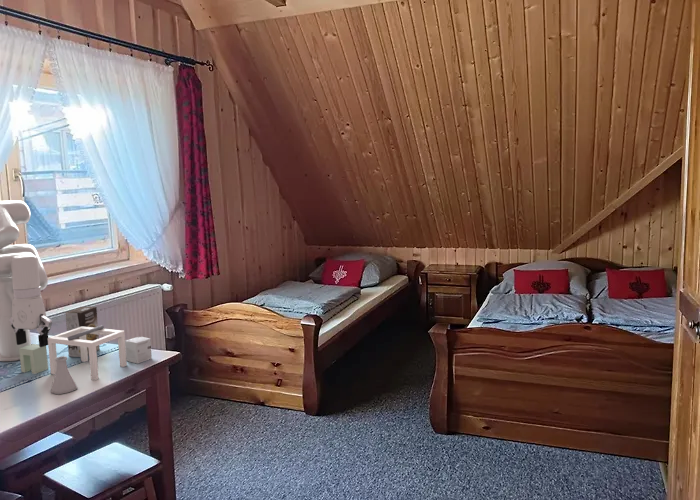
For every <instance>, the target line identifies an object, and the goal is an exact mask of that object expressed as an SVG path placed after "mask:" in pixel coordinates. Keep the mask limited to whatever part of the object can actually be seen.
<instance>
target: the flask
mask: <svg viewBox="0 0 700 500" xmlns="http://www.w3.org/2000/svg"><path fill="white" fill-rule="evenodd" d="M55 360H56V362H57V367H56V373H55V375H54V377H53V380H52V385H51V386H50V393H51V394H55V395H62V394H68V393H72V392H73V391H76V390H77V389H78V387H77V385H76V382H75V381H74V379H73V376H72V375H71V372H70V370H69V368H68V364H67V361H68V357H67V356H65V355H63V356H57V358H55Z"/></svg>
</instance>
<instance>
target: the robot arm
mask: <svg viewBox="0 0 700 500" xmlns="http://www.w3.org/2000/svg"><path fill="white" fill-rule="evenodd" d="M30 220H31V210H30V207H29V206H28V205H27V203H26V202H25V201H23V200H0V362H15V361H20V353H19V348H22V347H25V346H27V345H30V344H32V342H31V330H32V331H33V330H36V331H37V333H38V335H37V336H38V345H39V347H44V346H46V347H48V338H49V333H50V330H51V328H52V324H53V321H52V319H50V318H48V317H47V314H46V313H47V312H46V308H45V307H46V306H45V303H44V299H43V297H42V290H43V291H44V289H46V288H47V285H48V284H49V283H48V282H49V281H48V279H49V278H48V275H47V272H46V269H45V267H44V264H43V262H42V259H41V258H40V255H39V253H38V251H37V249H36V248H35V246H33V245H32V244H28V243H19V244H18V243H17V244H14V243H15V242H16V241H17V240H18V239H19V237H20V230H19V228H18V226H17V225H25V224H27V223H29V221H30Z"/></svg>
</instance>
